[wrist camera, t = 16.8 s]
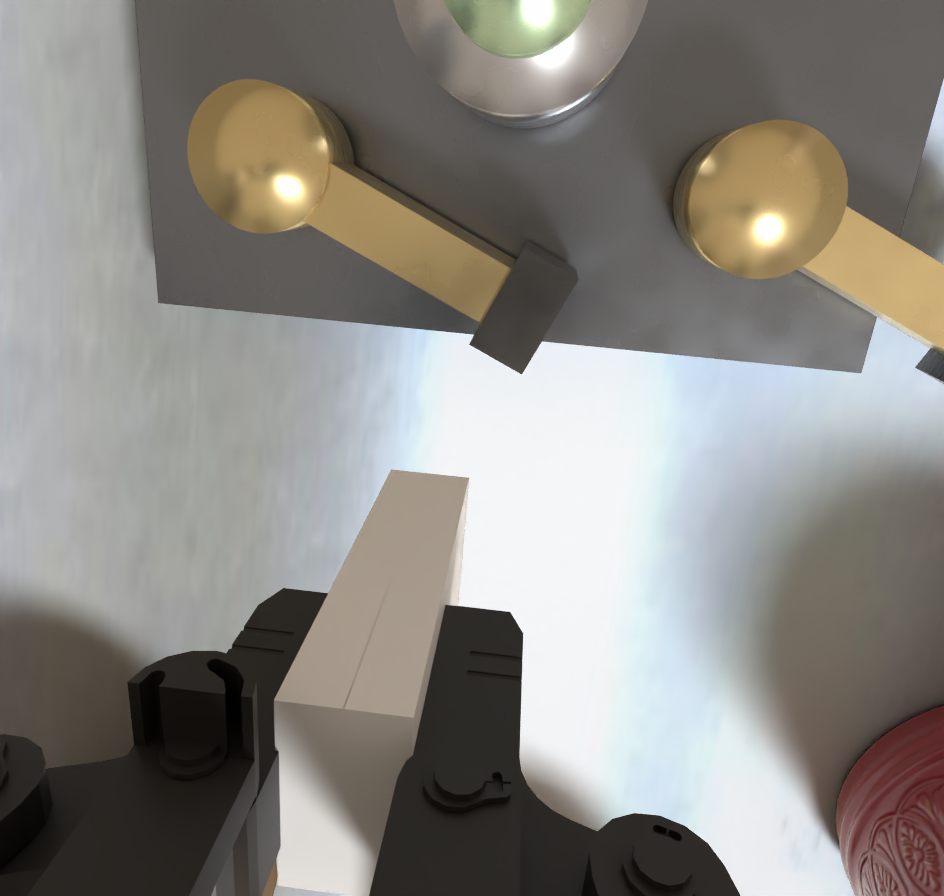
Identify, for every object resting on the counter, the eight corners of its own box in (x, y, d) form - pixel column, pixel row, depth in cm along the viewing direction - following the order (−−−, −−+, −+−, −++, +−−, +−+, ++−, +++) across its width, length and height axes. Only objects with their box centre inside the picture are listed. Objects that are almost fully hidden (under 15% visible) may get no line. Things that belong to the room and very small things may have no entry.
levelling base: (185, 294, 27) (55, 334, 20) (156, -164, 22) (-30, -326, 15) (838, 359, 25) (948, 427, 18) (966, -121, 20) (1185, -280, 13)
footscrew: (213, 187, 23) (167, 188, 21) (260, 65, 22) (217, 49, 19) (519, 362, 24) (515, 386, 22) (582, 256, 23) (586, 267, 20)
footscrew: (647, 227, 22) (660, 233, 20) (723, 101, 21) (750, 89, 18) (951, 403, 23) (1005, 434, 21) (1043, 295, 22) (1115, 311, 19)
